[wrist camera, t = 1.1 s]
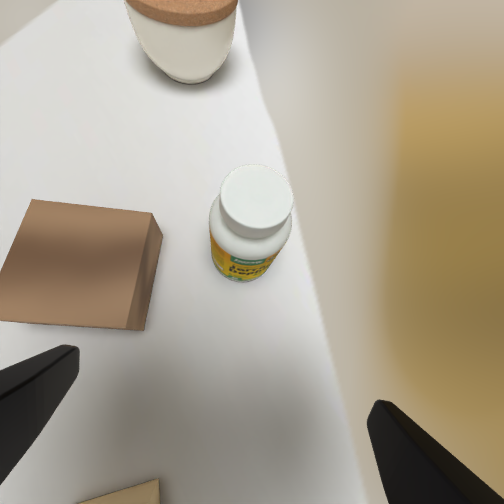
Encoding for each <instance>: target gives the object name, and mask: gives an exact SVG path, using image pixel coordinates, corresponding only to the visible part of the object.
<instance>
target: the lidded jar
mask: <svg viewBox="0 0 504 504" xmlns="http://www.w3.org/2000/svg"><path fill="white" fill-rule="evenodd" d="M124 3H125V6H126V10H127V13H128V16H129V19H130V22H131V24H132V27H133V29H134V32H135V34H136V36H137V39H138V41H139V43H140V45H141V46H142V48H143V49H144V51H145V53H146V54H147V55H148V57H149V58H150V59H151V60H152V61H153V63H154V64H155V65H156V66H158V67H159V68H160V69H161V70H163V71H164V72H165V73H166V75H167V76H169V77H170V78H171V79H173V80H175V81H178V82H181V83H185V84H197V83H201V82H204V81H206V80H208V79H209V78H210V77H211V76H212V75H213V73H214V72H215V71H216V70H218V69H219V68H220V66H221V65H222V64H223V62H224V61H225V59H226V57H227V55H228V52H229V50H230V47H231V44H232V40H233V34H234V28H235V20H236V6H237V3H238V0H124Z"/></svg>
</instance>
